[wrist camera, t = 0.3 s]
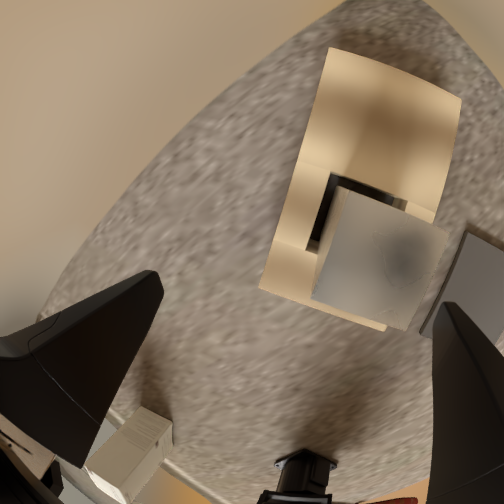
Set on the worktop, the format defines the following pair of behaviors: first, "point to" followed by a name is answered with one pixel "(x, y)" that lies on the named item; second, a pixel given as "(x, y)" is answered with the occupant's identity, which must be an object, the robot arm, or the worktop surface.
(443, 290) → the rubber mat
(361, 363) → the worktop surface
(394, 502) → the pliers
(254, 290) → the worktop surface
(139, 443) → the skincare box
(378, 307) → the steel bar
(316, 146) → the wooden block with hole
